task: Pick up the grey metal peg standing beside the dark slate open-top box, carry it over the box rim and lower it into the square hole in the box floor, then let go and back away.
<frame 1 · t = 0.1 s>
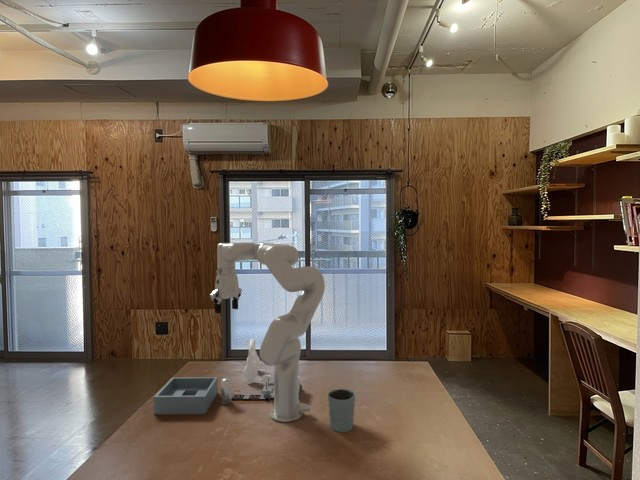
hand: (226, 310, 174), 37 cm above the table, tool pointing down, fingers open, 9 cm apart
toy car: (280, 395, 176), on the table
peg: (226, 402, 168), on the table
open box: (187, 402, 168), on the table
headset: (251, 377, 197), on the table
teal cup: (341, 426, 149), on the table
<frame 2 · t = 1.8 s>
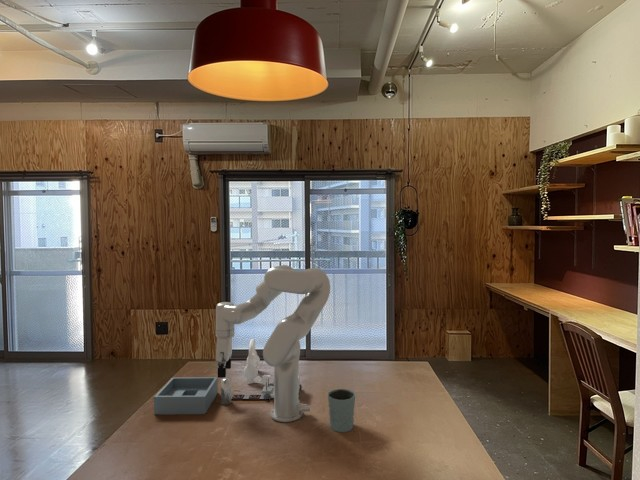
hand: (224, 372, 168), 13 cm above the table, tool pointing down, fingers open, 9 cm apart
nothing on the table moved.
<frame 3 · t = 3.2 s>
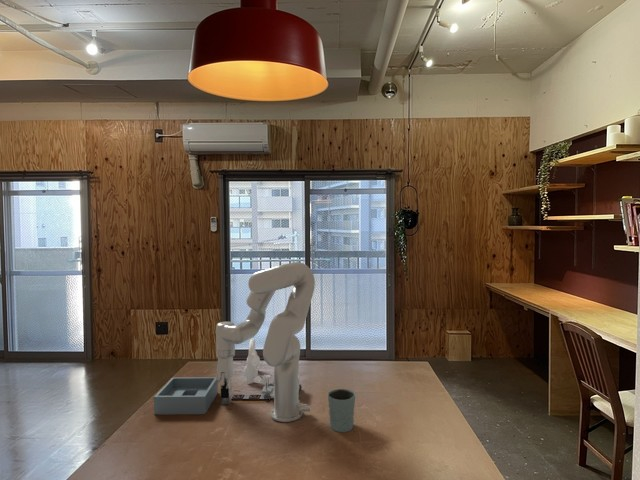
hand: (226, 394, 168), 3 cm above the table, tool pointing down, fingers closed on peg, 4 cm apart
peg: (226, 402, 168), on the table, touching gripper
everything else where it was.
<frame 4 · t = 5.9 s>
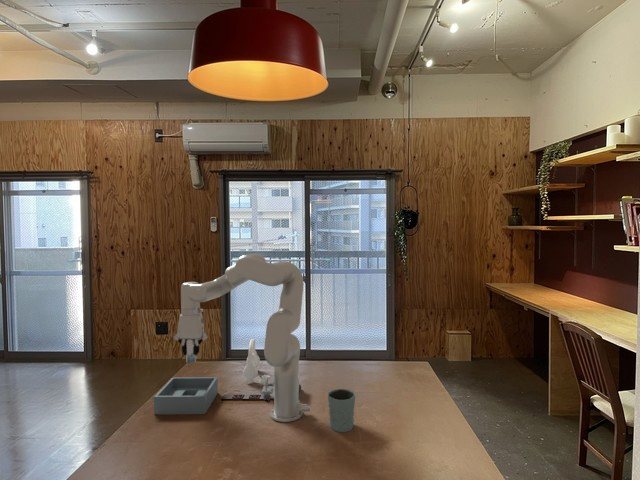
hand: (190, 353, 170), 20 cm above the table, tool pointing down, fingers closed on peg, 4 cm apart
peg: (191, 361, 170), point 16 cm above the table, touching gripper
everything else where it was.
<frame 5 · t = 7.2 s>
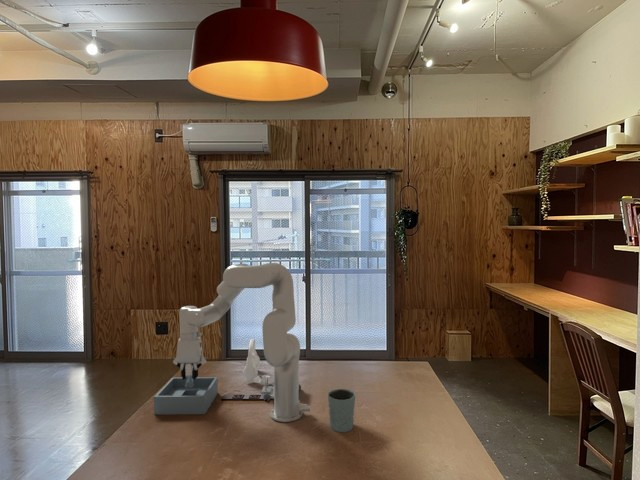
hand: (189, 377, 171), 9 cm above the table, tool pointing down, fingers closed on peg, 4 cm apart
peg: (189, 385, 171), point 6 cm above the table, touching gripper
everything else where it was.
when the fingers open (5 cm above the table, at t = 8.4 s): peg drops 2 cm, resting in open box.
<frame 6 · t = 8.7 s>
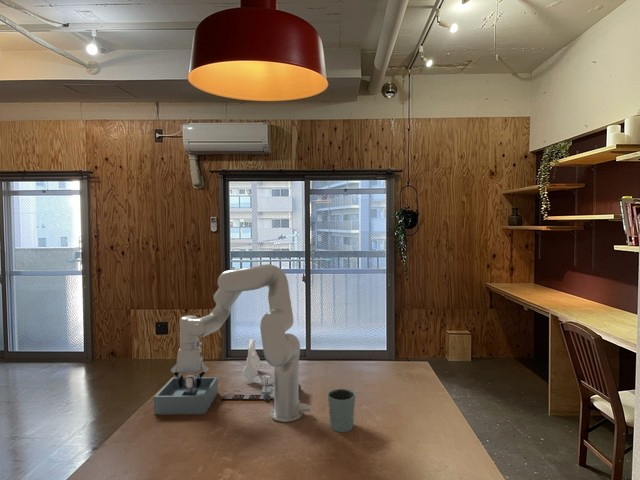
hand: (189, 386, 171), 6 cm above the table, tool pointing down, fingers open, 6 cm apart
peg: (190, 399, 171), resting in open box
everything else where it was.
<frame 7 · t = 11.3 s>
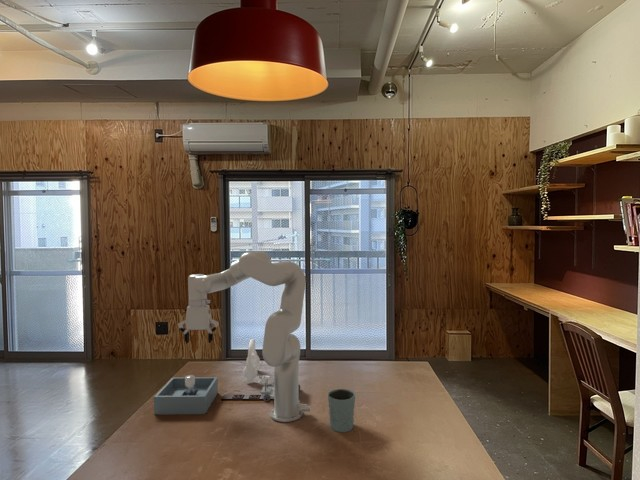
hand: (198, 342, 174), 24 cm above the table, tool pointing down, fingers open, 9 cm apart
nothing on the table moved.
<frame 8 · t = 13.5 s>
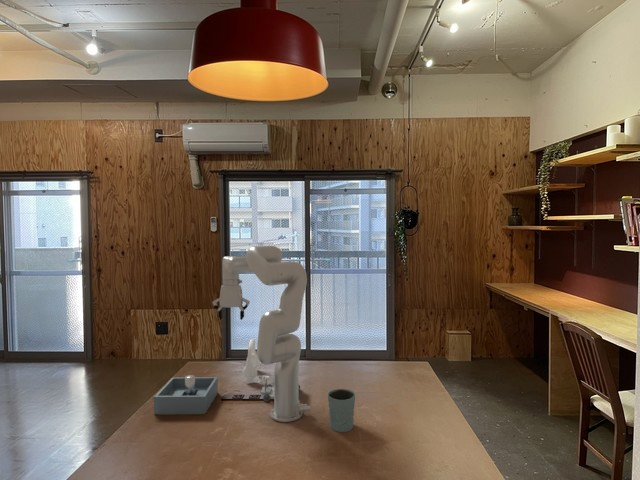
hand: (231, 319, 188), 30 cm above the table, tool pointing down, fingers open, 9 cm apart
nothing on the table moved.
at the end: peg 0.0 cm from the target spot on the open box, point 0.0 cm above the open box's base; peg tilted 0°; the gripper is holding nothing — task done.
